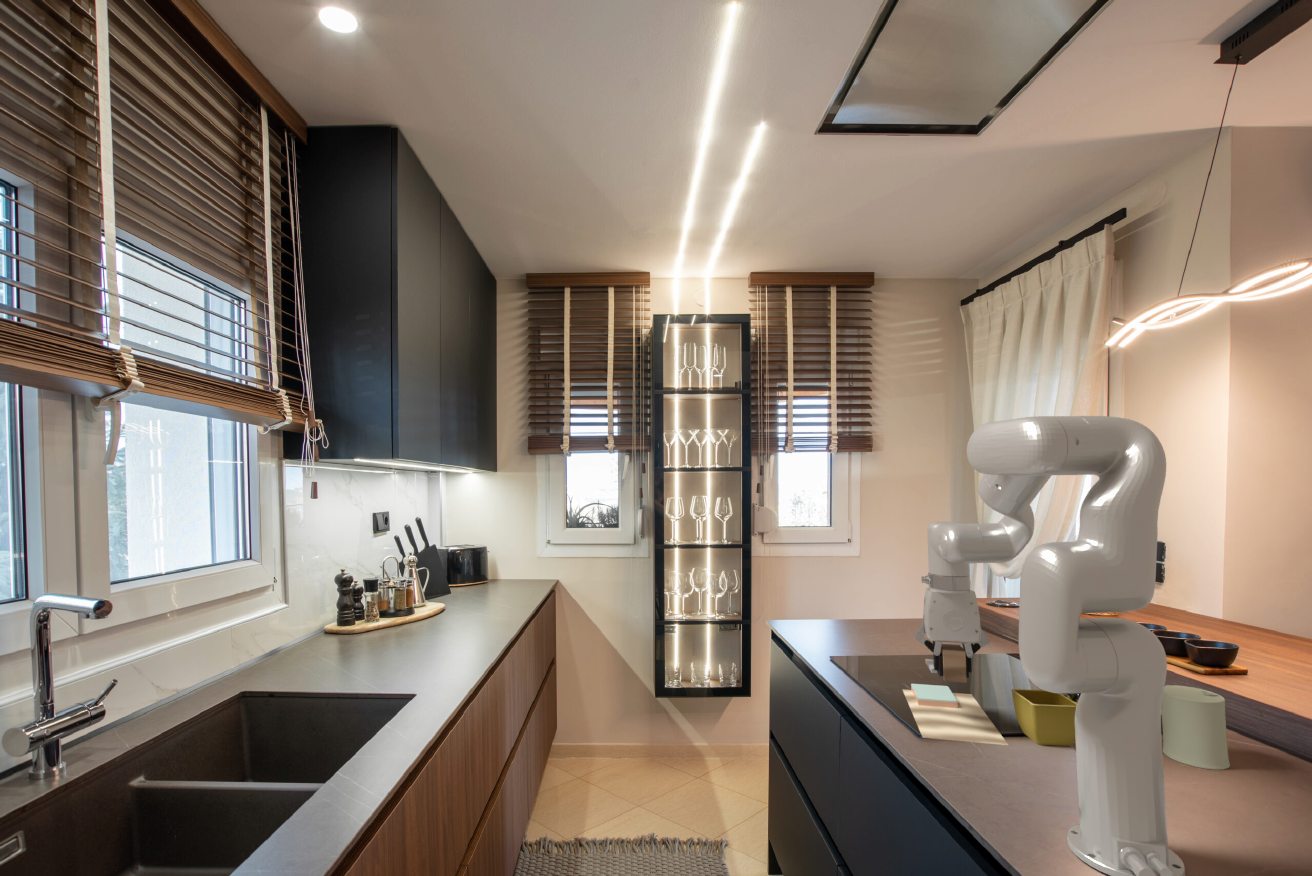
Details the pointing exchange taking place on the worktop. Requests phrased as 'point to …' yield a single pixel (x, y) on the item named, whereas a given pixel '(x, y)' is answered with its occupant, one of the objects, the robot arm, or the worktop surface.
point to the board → (955, 721)
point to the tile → (934, 695)
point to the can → (1194, 727)
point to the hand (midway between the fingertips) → (952, 674)
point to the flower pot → (1045, 716)
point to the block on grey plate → (951, 663)
